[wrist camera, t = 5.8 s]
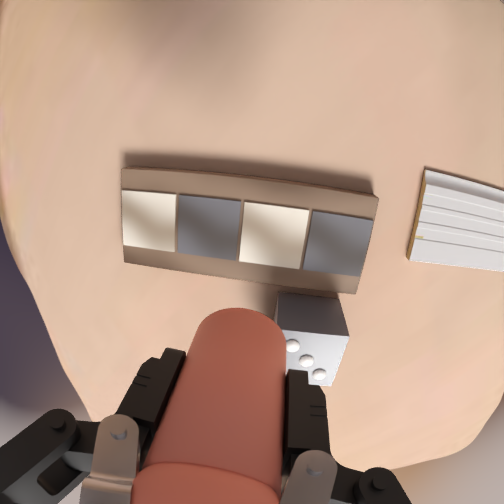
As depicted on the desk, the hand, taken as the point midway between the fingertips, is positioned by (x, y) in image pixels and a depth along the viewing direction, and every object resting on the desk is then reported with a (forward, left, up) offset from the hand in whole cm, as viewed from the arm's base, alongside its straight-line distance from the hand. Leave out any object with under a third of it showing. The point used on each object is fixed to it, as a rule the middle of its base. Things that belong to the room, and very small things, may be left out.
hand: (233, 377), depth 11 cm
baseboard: (-5, +29, -18) cm, 34 cm away
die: (+9, +5, -17) cm, 20 cm away
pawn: (0, 0, -2) cm, 2 cm away
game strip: (0, -2, -17) cm, 17 cm away
